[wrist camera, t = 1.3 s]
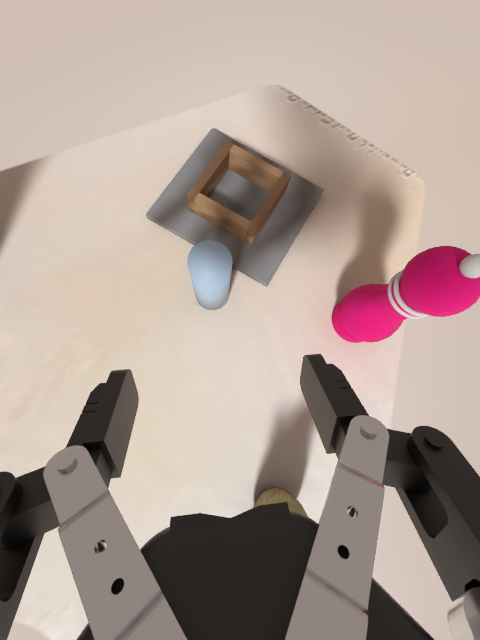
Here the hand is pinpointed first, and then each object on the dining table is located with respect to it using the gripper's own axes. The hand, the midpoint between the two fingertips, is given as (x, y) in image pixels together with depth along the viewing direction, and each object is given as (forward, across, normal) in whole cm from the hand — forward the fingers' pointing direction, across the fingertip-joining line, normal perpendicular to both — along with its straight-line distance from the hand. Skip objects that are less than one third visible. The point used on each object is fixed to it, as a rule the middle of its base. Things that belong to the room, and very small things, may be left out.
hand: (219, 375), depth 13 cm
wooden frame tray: (+35, -5, -1) cm, 35 cm away
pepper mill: (+22, -19, +12) cm, 31 cm away
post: (+25, 0, +8) cm, 26 cm away
